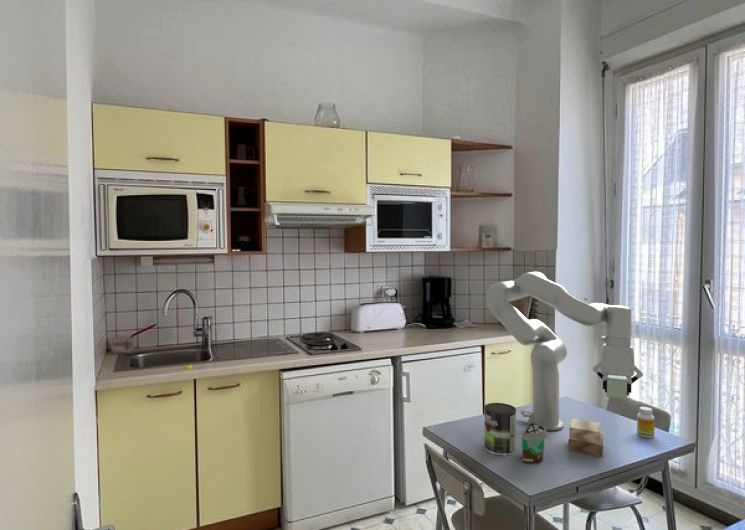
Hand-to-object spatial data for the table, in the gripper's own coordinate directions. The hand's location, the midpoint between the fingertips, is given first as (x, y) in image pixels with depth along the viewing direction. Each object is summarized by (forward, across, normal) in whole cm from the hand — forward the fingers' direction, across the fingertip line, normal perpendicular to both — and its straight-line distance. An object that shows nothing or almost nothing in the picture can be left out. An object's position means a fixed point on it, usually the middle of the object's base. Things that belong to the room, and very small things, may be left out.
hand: (616, 392), depth 158 cm
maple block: (+14, -9, -10) cm, 19 cm away
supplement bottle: (+17, +10, +12) cm, 23 cm away
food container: (+18, -22, -27) cm, 39 cm away
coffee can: (+18, -34, -25) cm, 46 cm away
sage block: (+1, 0, 0) cm, 1 cm away
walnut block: (+18, -9, -10) cm, 22 cm away
